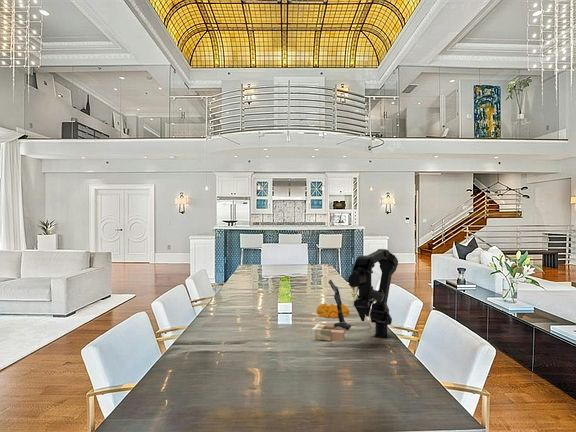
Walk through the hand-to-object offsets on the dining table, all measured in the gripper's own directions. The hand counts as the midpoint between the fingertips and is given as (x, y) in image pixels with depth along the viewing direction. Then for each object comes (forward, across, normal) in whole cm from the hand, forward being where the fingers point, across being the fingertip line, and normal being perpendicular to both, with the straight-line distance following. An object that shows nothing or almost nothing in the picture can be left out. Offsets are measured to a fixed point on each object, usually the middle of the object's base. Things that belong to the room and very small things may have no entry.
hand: (365, 318), depth 187 cm
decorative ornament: (+12, +53, +31) cm, 63 cm away
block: (+12, +2, +20) cm, 23 cm away
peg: (+12, +2, +16) cm, 20 cm away
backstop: (+12, +2, +24) cm, 27 cm away
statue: (+12, +22, +18) cm, 31 cm away
